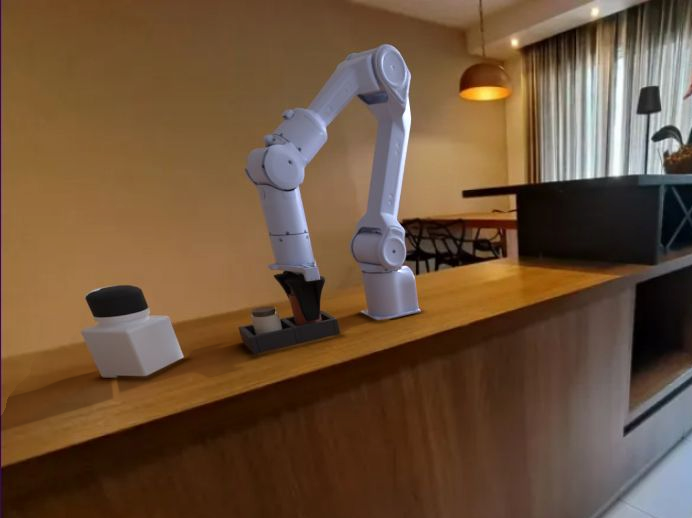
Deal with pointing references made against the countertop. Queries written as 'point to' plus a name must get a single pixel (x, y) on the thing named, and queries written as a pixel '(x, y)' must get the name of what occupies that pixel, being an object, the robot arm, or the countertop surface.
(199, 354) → the countertop surface
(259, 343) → the holder
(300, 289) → the robot arm
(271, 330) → the cream jar
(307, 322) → the spice bottle
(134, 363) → the medicine bottle
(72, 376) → the countertop surface
